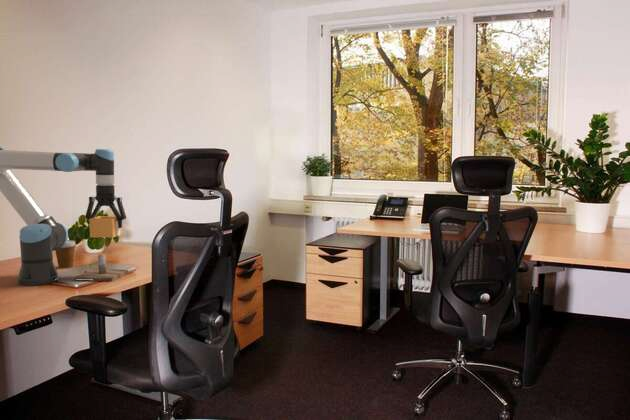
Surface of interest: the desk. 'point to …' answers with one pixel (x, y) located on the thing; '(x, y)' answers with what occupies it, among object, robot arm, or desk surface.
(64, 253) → the disposable coffee cup
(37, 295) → the desk surface
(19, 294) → the desk surface
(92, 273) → the keeper
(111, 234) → the open cardboard box
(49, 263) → the robot arm
